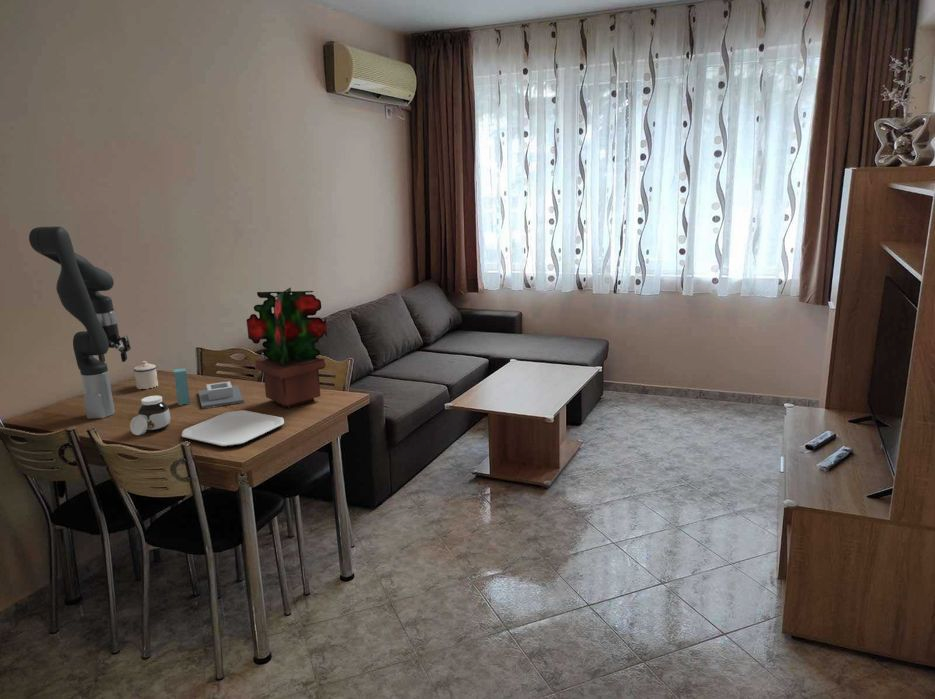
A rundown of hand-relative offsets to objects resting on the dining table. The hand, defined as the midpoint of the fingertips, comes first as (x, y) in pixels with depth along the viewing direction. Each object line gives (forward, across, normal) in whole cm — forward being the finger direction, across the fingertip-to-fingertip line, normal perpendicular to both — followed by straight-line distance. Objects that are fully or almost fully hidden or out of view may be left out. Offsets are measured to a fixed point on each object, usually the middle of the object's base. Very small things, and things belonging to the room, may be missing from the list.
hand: (113, 361), depth 269 cm
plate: (+17, +58, -35) cm, 70 cm away
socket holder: (+18, +40, +3) cm, 44 cm away
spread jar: (+17, +27, -33) cm, 46 cm away
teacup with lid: (+19, 0, +22) cm, 29 cm away
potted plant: (+18, +71, -4) cm, 74 cm away
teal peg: (+18, +27, -3) cm, 32 cm away
